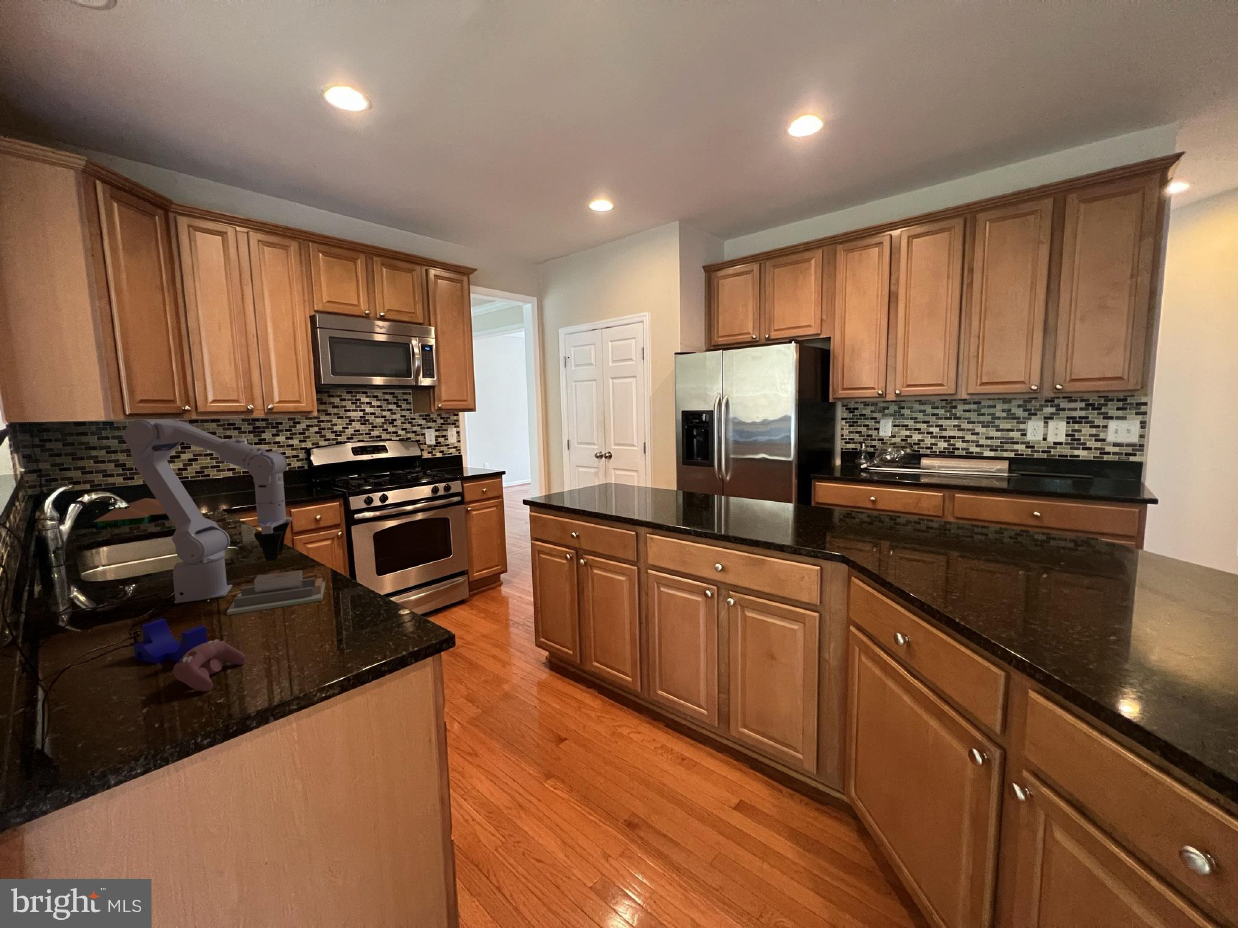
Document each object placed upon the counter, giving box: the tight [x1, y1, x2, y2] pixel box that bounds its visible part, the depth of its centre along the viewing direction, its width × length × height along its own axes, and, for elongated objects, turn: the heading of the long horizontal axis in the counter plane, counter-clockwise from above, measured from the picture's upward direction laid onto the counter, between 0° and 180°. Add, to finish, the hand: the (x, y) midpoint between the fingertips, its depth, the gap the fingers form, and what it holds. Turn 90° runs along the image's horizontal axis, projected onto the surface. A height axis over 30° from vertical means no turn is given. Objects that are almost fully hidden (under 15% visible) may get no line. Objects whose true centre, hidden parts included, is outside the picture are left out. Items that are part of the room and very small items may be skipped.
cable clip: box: [133, 618, 208, 665], centre depth 90 cm, size 12×4×6 cm, turn 73°
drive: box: [253, 570, 304, 595], centre depth 118 cm, size 9×4×5 cm, turn 117°
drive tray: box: [226, 577, 326, 616], centre depth 118 cm, size 18×12×3 cm, turn 117°
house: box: [93, 497, 167, 529], centre depth 205 cm, size 23×33×8 cm
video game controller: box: [172, 639, 247, 693], centre depth 83 cm, size 10×5×7 cm, turn 6°
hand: (274, 555), depth 121 cm, fingers open, 7 cm apart
